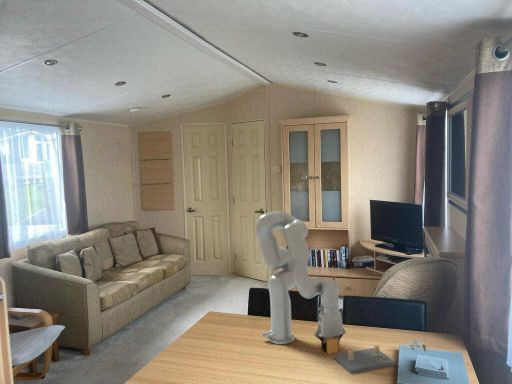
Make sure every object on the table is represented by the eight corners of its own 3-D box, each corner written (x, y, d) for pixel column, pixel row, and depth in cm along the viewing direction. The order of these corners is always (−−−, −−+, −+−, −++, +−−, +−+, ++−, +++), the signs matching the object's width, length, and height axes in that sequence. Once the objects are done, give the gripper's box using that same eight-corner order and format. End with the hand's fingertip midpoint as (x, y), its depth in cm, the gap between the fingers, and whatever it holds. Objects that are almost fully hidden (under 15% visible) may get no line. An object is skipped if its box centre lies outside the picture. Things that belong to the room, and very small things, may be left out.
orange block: (327, 353, 175) (327, 340, 175) (322, 348, 180) (322, 336, 180) (338, 351, 177) (338, 338, 176) (332, 347, 181) (332, 334, 181)
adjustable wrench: (442, 371, 159) (442, 366, 159) (426, 371, 159) (426, 366, 159) (420, 343, 184) (420, 339, 184) (406, 343, 184) (405, 339, 184)
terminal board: (351, 373, 158) (350, 359, 157) (334, 358, 171) (333, 345, 171) (395, 365, 163) (395, 351, 163) (375, 351, 177) (375, 338, 176)
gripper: (315, 314, 171) (316, 356, 172) (351, 309, 176) (352, 350, 177) (308, 308, 179) (309, 349, 179) (343, 304, 183) (343, 343, 184)
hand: (330, 349), depth 178 cm, fingers closed on orange block, 4 cm apart
